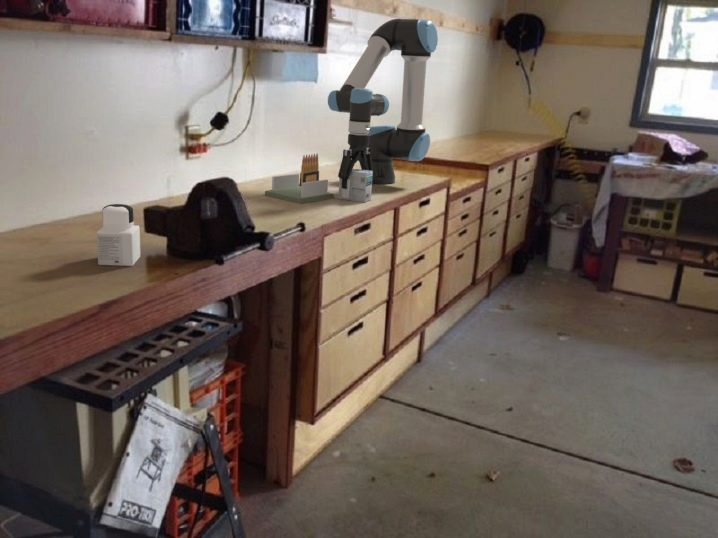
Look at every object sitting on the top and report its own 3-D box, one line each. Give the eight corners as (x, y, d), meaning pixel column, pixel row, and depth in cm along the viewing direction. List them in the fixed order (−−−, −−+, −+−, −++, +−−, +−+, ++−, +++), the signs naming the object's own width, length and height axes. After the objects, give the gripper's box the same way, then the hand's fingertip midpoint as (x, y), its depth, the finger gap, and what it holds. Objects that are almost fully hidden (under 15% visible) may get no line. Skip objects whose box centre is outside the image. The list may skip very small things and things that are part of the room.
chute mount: (299, 189, 254) (299, 172, 252) (333, 197, 244) (334, 179, 242) (264, 195, 240) (265, 176, 238) (300, 203, 230) (300, 184, 228)
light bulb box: (371, 200, 245) (373, 170, 242) (365, 203, 239) (367, 172, 236) (343, 196, 248) (345, 167, 245) (337, 199, 242) (339, 169, 239)
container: (107, 255, 159) (104, 201, 155) (140, 256, 159) (139, 203, 155) (97, 265, 151) (95, 208, 147) (133, 266, 152) (131, 210, 148)
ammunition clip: (303, 186, 261) (304, 155, 258) (299, 185, 262) (300, 154, 259) (318, 183, 270) (320, 153, 266) (315, 182, 271) (316, 152, 267)
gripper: (347, 136, 226) (342, 201, 232) (386, 133, 243) (381, 194, 250) (329, 133, 230) (326, 197, 236) (369, 131, 247) (365, 190, 254)
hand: (354, 195), depth 243 cm, fingers open, 10 cm apart
